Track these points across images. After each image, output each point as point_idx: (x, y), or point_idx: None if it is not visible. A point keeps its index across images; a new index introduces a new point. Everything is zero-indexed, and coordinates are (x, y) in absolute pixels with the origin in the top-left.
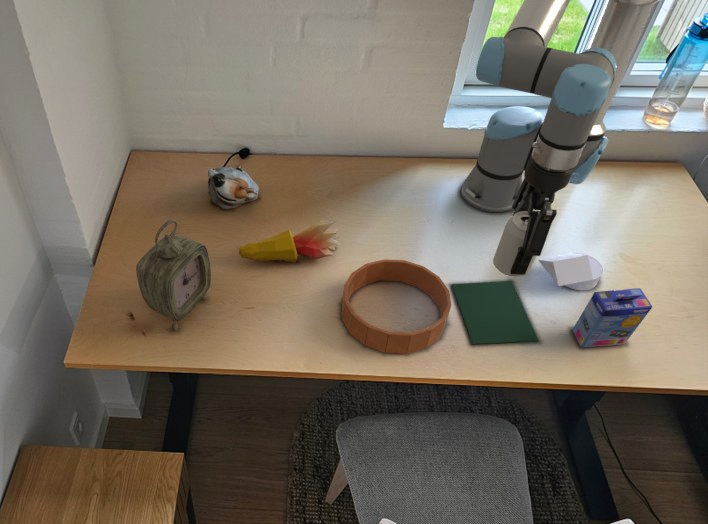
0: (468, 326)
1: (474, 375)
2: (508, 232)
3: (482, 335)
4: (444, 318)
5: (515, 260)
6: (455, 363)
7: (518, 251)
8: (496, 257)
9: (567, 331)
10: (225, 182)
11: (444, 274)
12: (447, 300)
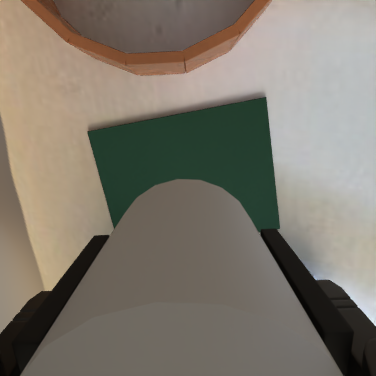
0: (135, 126)
1: (9, 128)
2: (102, 304)
3: (114, 153)
4: (70, 40)
5: (75, 273)
6: (30, 90)
7: (53, 312)
8: (169, 190)
9: None
10: None
11: (302, 83)
12: (142, 53)
